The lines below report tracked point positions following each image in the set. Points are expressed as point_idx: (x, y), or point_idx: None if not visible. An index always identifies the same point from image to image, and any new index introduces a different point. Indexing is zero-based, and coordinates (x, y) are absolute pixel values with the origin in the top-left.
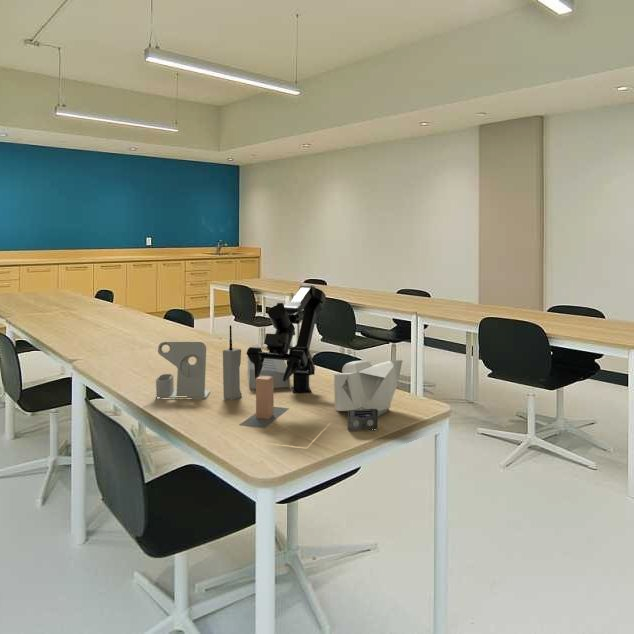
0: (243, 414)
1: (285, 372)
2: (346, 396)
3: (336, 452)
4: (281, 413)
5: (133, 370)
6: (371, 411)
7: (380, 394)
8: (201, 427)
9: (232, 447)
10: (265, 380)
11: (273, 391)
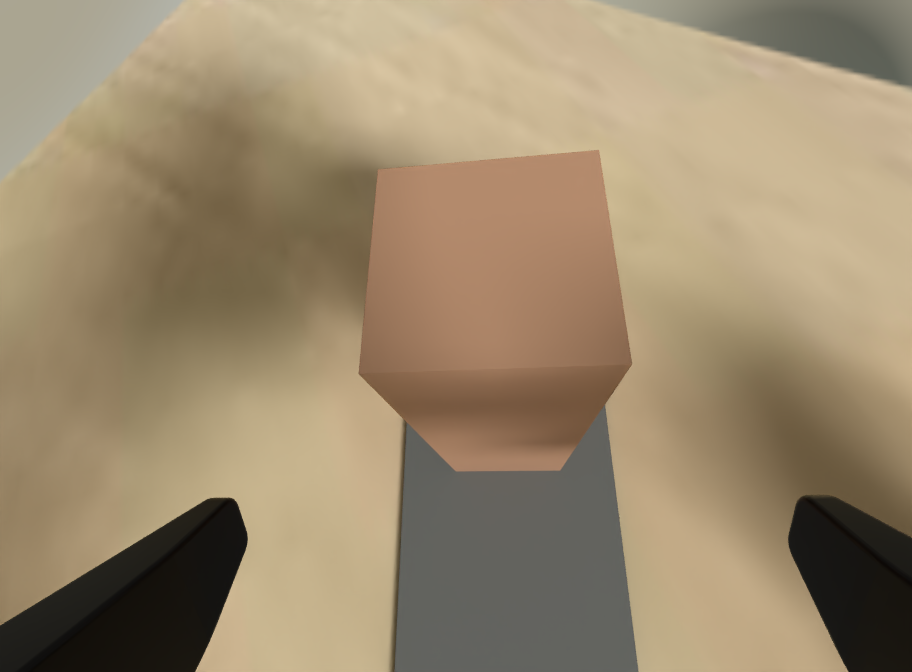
0: (702, 441)
1: (90, 604)
2: None
3: (64, 125)
4: (410, 533)
5: None
6: None
7: None
8: (769, 136)
9: (463, 25)
10: (428, 178)
11: (418, 433)
